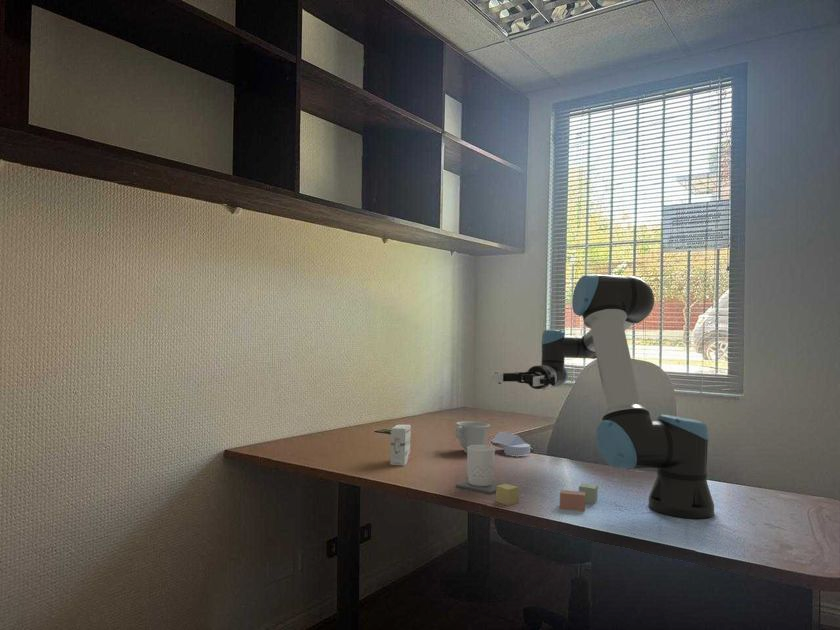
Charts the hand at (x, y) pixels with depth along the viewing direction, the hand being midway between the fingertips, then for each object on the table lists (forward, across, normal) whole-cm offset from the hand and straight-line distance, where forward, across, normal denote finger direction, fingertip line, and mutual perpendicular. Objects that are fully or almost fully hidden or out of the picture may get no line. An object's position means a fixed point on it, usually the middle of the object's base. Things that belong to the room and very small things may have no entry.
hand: (512, 380), depth 176 cm
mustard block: (+22, -10, -29) cm, 38 cm away
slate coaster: (+13, +2, -29) cm, 32 cm away
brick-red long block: (+16, -25, -30) cm, 42 cm away
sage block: (+7, -26, -29) cm, 40 cm away
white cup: (+13, +3, -29) cm, 32 cm away
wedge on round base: (-33, +15, -29) cm, 46 cm away
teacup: (-23, +27, -29) cm, 45 cm away
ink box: (+6, +36, -29) cm, 47 cm away
